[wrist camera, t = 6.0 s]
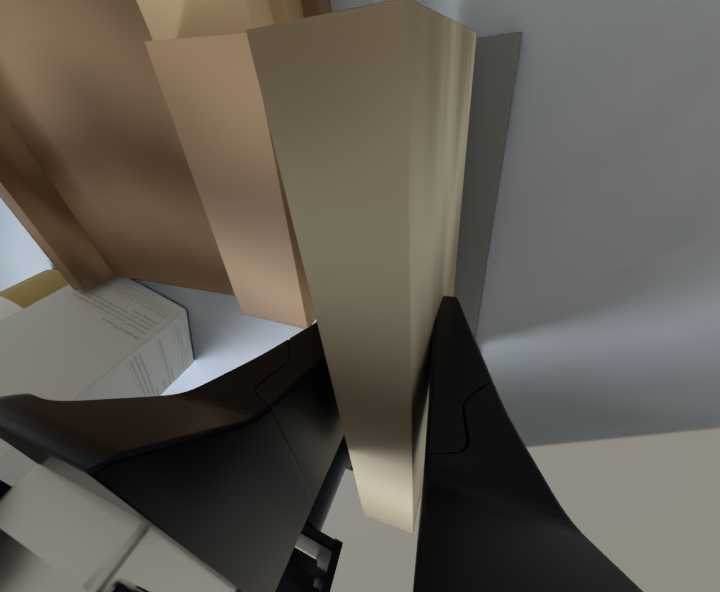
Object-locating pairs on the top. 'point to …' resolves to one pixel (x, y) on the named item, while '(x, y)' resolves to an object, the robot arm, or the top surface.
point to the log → (30, 292)
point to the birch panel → (374, 212)
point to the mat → (483, 163)
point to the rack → (99, 147)
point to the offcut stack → (232, 144)
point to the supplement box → (91, 350)
